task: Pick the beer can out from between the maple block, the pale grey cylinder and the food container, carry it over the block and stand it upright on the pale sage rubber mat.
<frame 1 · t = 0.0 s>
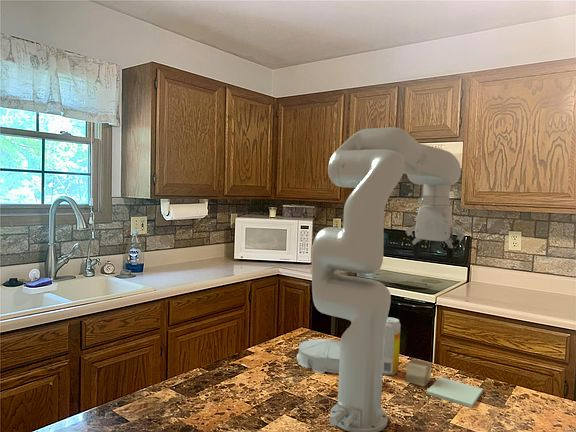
hand: (432, 259, 132), 31 cm above the countertop, tool pointing down, fingers open, 9 cm apart
maple block: (418, 381, 120), on the countertop
food container: (328, 362, 132), on the countertop
beer can: (387, 372, 125), on the countertop
grey cylinder: (364, 381, 118), on the countertop
sage mat: (454, 392, 113), on the countertop
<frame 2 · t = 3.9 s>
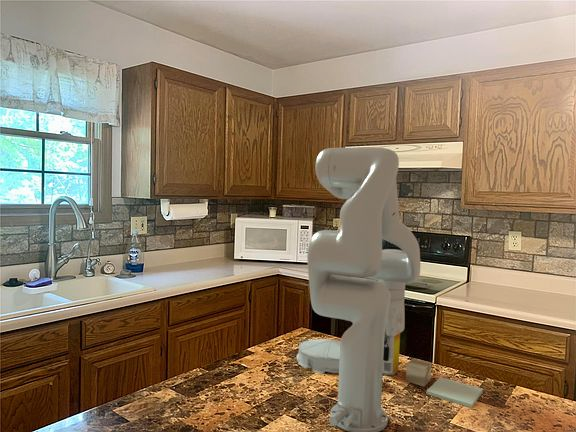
hand: (387, 355, 125), 5 cm above the countertop, tool pointing down, fingers closed on beer can, 6 cm apart
beer can: (387, 372, 125), on the countertop, touching gripper
everything else where it was.
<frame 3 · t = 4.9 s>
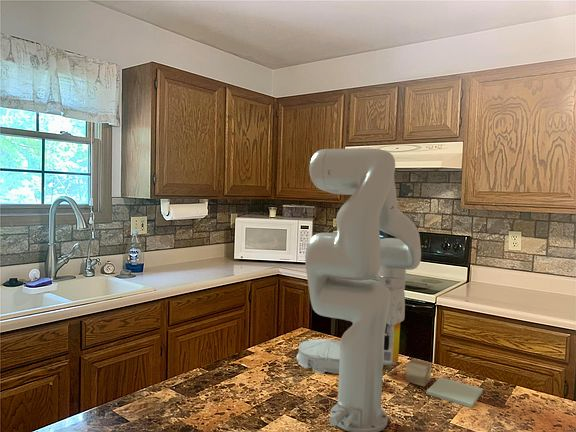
hand: (387, 345, 124), 8 cm above the countertop, tool pointing down, fingers closed on beer can, 6 cm apart
beer can: (386, 362, 124), point 3 cm above the countertop, touching gripper
everything else where it was.
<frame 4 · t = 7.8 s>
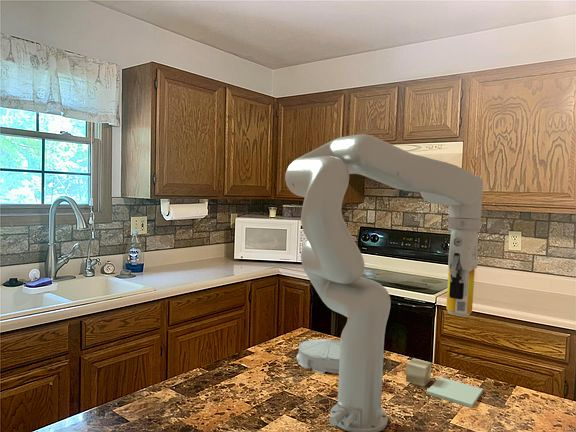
hand: (459, 295, 111), 25 cm above the countertop, tool pointing down, fingers closed on beer can, 6 cm apart
beer can: (458, 314, 112), point 21 cm above the countertop, touching gripper
everything else where it was.
when the fingers open (6 cm above the countertop, at t = 12.2 s): beer can stays where it is, resting on sage mat.
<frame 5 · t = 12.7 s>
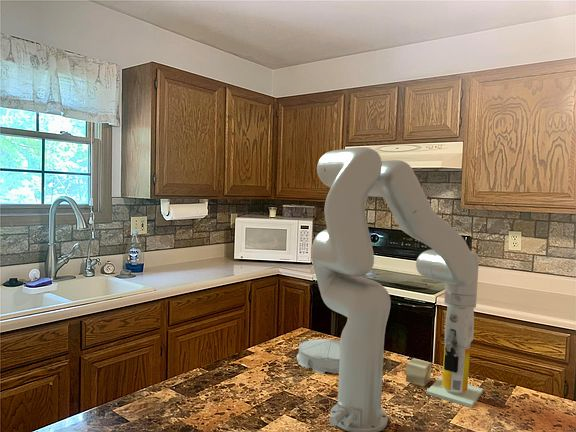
hand: (456, 365, 113), 7 cm above the countertop, tool pointing down, fingers open, 9 cm apart
beer can: (454, 390, 113), point 1 cm above the countertop, touching sage mat
everything else where it was.
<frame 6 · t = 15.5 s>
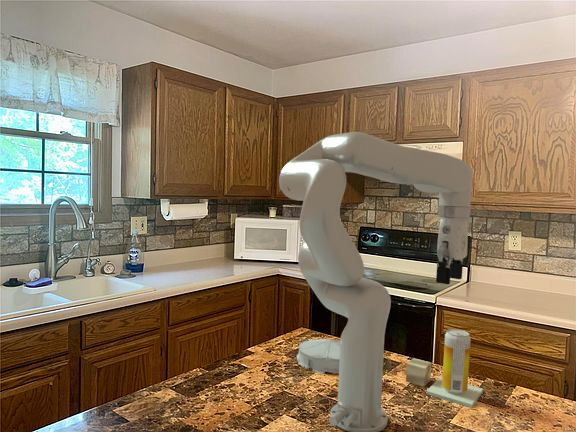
hand: (449, 280, 112), 29 cm above the countertop, tool pointing down, fingers open, 9 cm apart
nothing on the countertop moved.
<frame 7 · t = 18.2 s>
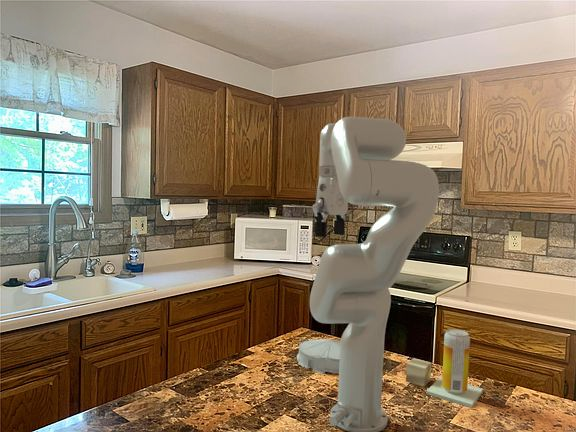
hand: (330, 235, 122), 38 cm above the countertop, tool pointing down, fingers open, 9 cm apart
nothing on the countertop moved.
at the end: beer can inside the target area on the sage mat (0.3 cm from its centre), point 0.6 cm above the sage mat's base; beer can tilted 0°; the gripper is holding nothing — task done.
